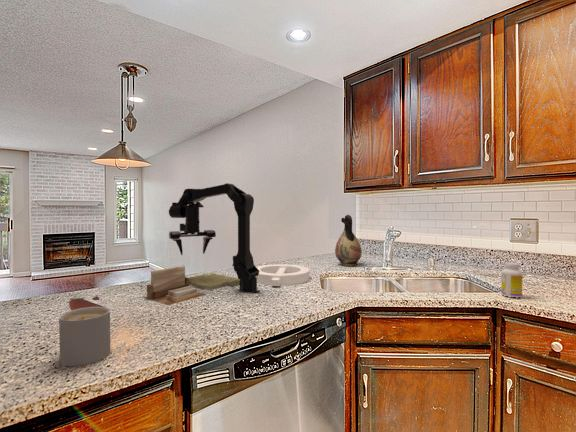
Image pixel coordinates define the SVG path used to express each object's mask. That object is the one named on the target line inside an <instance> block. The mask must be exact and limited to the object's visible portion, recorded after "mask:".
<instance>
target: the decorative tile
mask: <svg viewBox="0 0 576 432" xmlns="http://www.w3.org/2000/svg"><path fill="white" fill-rule="evenodd" d="M188 278H189V285H190V286H191V287H194V288H197V289H202V290H207V291H214V290H216V289H217V290H218V289H222V288H225V287H231V288H234V286H235V287H239V286H240V279H238V277H233V276H229V275H224V274H217V273H215V272H213V273H209V274H207V273H205V274H200V275H195V276H190V277H188Z"/></svg>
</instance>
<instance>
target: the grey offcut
mask: <svg viewBox="0 0 576 432" xmlns="http://www.w3.org/2000/svg"><path fill="white" fill-rule="evenodd" d="M196 292H198V288H197V287H195V286H190V285H189V286H187V287H183V288H179V289H175V290H171V291H168V295H169V296H173V297H181V296H185V295H189V294H192V293H196Z"/></svg>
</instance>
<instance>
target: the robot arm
mask: <svg viewBox="0 0 576 432" xmlns="http://www.w3.org/2000/svg"><path fill="white" fill-rule="evenodd" d="M221 195H222V196H224V195H227V198H229V199H230V201H232V202H233V206H234V211H235V213H236V215H237V252H236V255H233V256H232V264H231V265H232V267H233V270H234V272H235V273H236V276H237V278H238V279H240V285H239V291H240V292H243V293H251V294H256V293H257V294H258V293H260V290H258V283H257V277H256V276H258V275H259V270H258V269H257V268H256V267H257V266H256V265H255V262H254V257H253V255H252V252H251V230H250V229H251V214H252V212H253V210H254V203H255V199H254V197H253V196H252V195H251V194H250V193H246V192H245V191H243V190H242V189H240V188H238V187H237V186H236V185H235V184H233V183H228V182H227V183H224V184H220V185H214V186H210V187H204V188H185V189H184V190H183V193H182V195H181V196H180V197H179V199H178V202H172V203H171V205H170V207H169V208H168V209H169V210H168V214H169V216H170V218H172V219H185V223H179V231H178V230H177V231H176V230H174V231H173V230H172V231H169V232H168V238H169V239H170V240H172V241H174V242H175V243H176V245H177V247H178V250H179V253H180V256H183V252H184V251H183V243H182V239H181V238H183V237H184V238H185V237H190V238H191V237H203V239H202V240H203V244H202V254H203V255H204V254H205V253H206V250H207V247H208V245H209V243H210V242H211V240H213V239H214V238H215V237H217V236H216V235H217V233H216V231H215V230H213V229H207V230H206V229H204V230H203V231H200V208H204V205H203V204H202V203H201V202H202V201H204V200H205V199H207V198H212V197H217V196H221Z"/></svg>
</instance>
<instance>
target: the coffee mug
mask: <svg viewBox="0 0 576 432" xmlns="http://www.w3.org/2000/svg"><path fill="white" fill-rule="evenodd" d="M110 312H111V310H110V308H108V307H106V306H103V307H87V308H80V309H76V310H69V311H66V312H64V313H62V314H61V315H59V317H58V319H59V320H58V324H59V326H58V327H59V330H58V331H59V363H60V365H61V366H64V367H65V366H66V367H80V366H87V365H91V364H94V363H97V362H100V361H102V360H103V359H105V358H106V357H108V356H109V355H110V354H111V313H110Z"/></svg>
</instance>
